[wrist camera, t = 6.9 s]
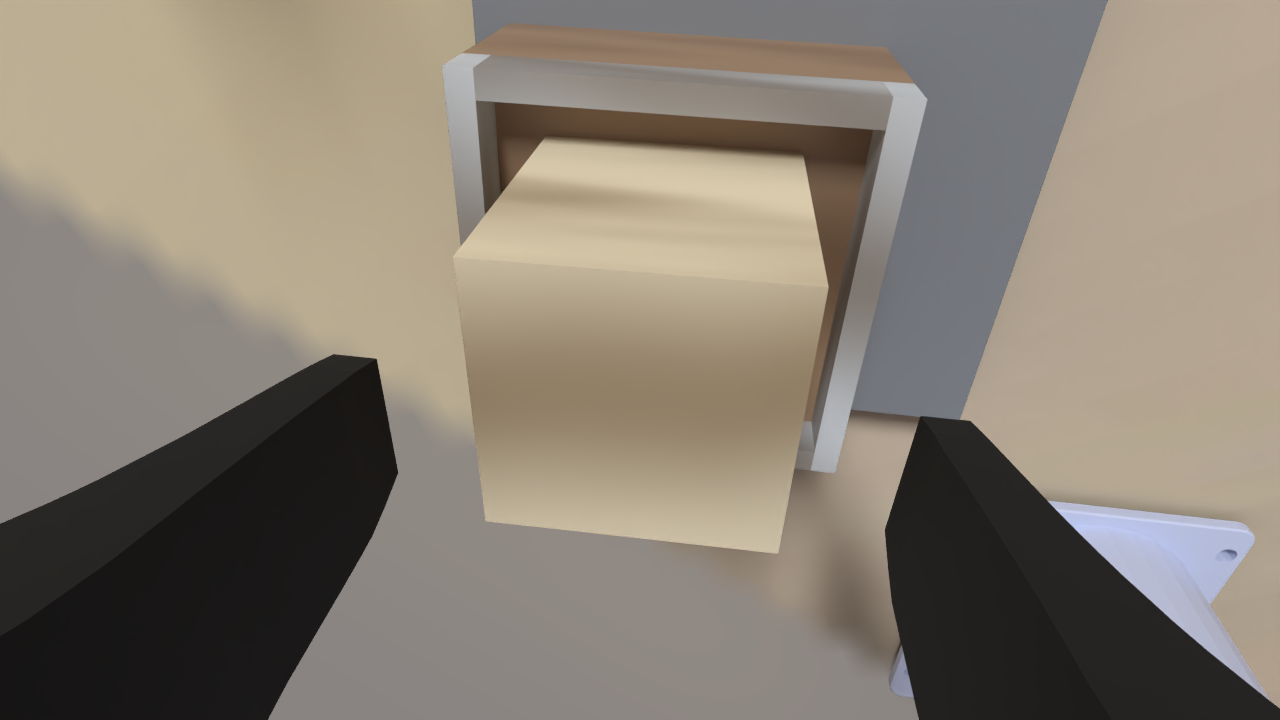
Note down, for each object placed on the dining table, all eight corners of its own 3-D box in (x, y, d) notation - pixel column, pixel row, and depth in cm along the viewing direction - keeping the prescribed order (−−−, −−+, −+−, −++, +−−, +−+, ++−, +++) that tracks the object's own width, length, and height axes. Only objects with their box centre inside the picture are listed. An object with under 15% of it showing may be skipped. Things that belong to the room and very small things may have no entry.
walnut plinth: (819, 365, 19) (835, 473, 15) (526, 336, 19) (480, 433, 16) (886, 47, 14) (927, 99, 11) (509, 23, 15) (442, 65, 12)
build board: (950, 397, 20) (958, 420, 19) (511, 353, 21) (501, 373, 20) (1319, -693, 10) (1371, -746, 9) (440, -682, 11) (414, -727, 10)
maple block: (770, 368, 15) (778, 553, 11) (555, 349, 16) (485, 521, 11) (802, 152, 13) (828, 287, 9) (546, 135, 13) (453, 257, 9)
